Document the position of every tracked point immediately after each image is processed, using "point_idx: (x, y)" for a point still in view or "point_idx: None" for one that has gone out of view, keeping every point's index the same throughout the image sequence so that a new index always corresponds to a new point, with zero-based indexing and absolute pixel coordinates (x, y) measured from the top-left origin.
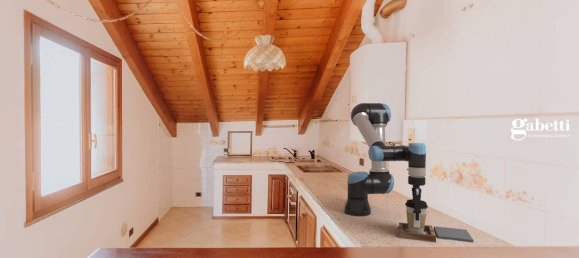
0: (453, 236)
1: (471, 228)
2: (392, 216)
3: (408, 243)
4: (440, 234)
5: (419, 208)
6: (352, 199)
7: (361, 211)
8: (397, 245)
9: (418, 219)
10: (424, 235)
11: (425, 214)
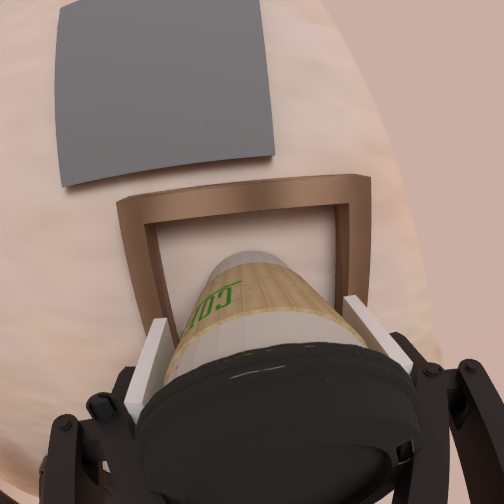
0: (237, 56)
1: (12, 10)
2: (27, 392)
3: (408, 310)
4: (230, 137)
5: (489, 395)
6: None
7: (117, 494)
8: (433, 342)
9: (404, 341)
10: (370, 250)
11: (324, 311)
